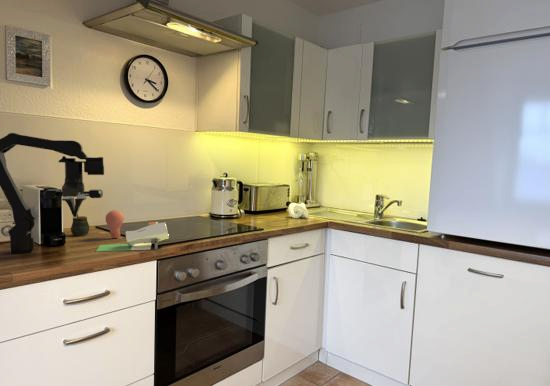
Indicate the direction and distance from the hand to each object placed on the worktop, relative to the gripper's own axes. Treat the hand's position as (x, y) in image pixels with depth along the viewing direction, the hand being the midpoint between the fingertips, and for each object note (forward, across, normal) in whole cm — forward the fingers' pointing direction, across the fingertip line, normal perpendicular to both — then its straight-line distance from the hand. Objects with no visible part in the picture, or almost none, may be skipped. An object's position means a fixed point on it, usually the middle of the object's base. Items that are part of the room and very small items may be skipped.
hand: (74, 216), depth 143 cm
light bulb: (+12, +12, +17) cm, 24 cm away
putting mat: (+12, +19, -2) cm, 22 cm away
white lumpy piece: (+12, +111, +62) cm, 128 cm away
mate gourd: (+12, -3, +26) cm, 29 cm away
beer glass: (+9, +18, -2) cm, 20 cm away
